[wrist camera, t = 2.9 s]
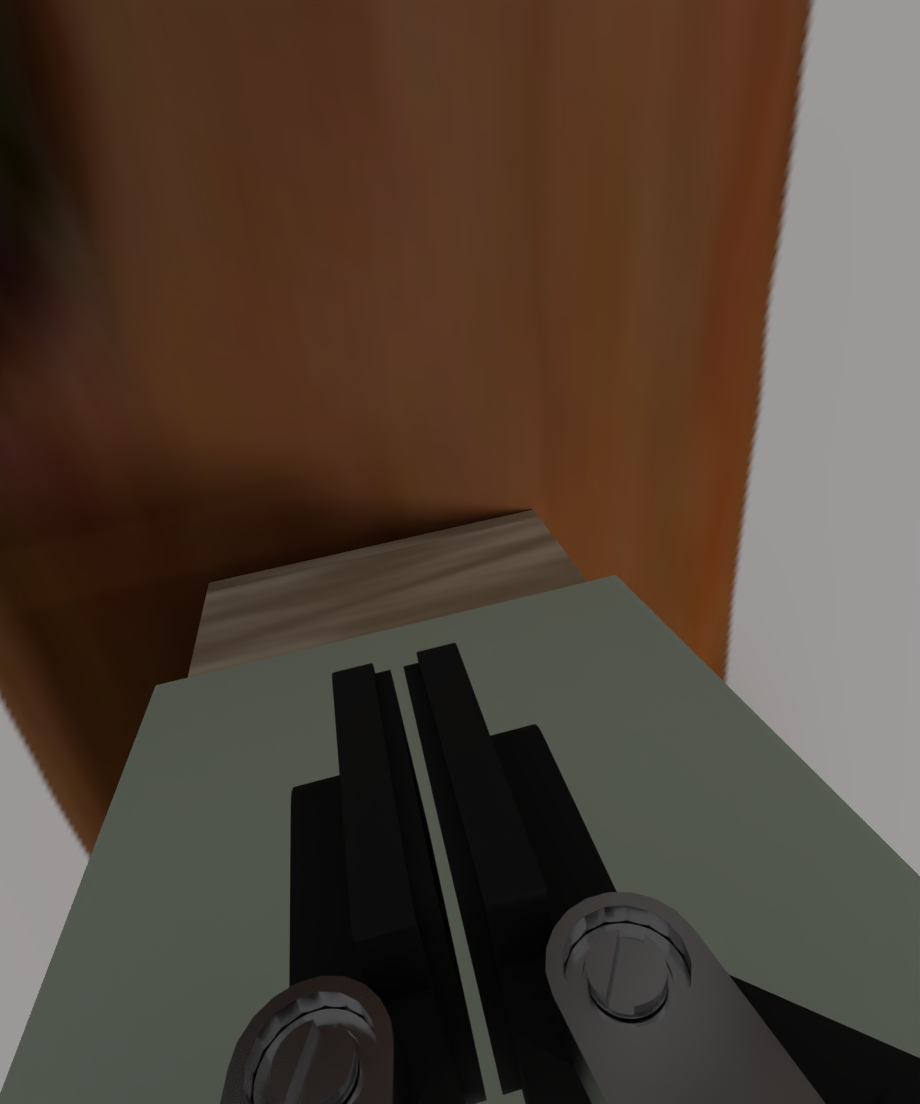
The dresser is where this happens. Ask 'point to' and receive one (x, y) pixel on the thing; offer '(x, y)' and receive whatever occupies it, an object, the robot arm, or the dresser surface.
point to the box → (377, 589)
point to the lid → (506, 704)
